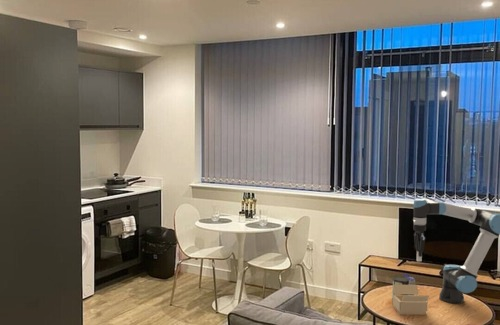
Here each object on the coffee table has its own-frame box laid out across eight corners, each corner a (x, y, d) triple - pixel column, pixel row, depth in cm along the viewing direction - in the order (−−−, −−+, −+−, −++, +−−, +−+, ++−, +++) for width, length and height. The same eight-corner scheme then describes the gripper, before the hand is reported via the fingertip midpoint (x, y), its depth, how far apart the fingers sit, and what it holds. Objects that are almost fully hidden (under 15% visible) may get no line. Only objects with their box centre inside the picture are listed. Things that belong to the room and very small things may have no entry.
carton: (419, 307, 313) (420, 295, 313) (427, 315, 301) (427, 302, 301) (392, 307, 313) (393, 295, 312) (399, 314, 301) (399, 301, 300)
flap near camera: (429, 295, 297) (429, 296, 296) (426, 301, 301) (426, 301, 300) (404, 295, 296) (404, 295, 296) (401, 300, 300) (401, 301, 300)
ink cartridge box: (411, 294, 338) (412, 273, 337) (414, 297, 333) (415, 275, 332) (397, 294, 338) (398, 273, 337) (400, 297, 332) (401, 275, 331)
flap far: (418, 294, 313) (418, 294, 313) (416, 284, 316) (416, 285, 316) (394, 294, 312) (394, 294, 312) (393, 284, 315) (393, 284, 315)
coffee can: (407, 297, 331) (408, 277, 330) (409, 303, 321) (410, 281, 320) (391, 296, 333) (392, 275, 332) (392, 301, 323) (393, 280, 322)
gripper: (409, 222, 316) (409, 258, 318) (418, 226, 303) (417, 264, 305) (421, 221, 317) (420, 258, 319) (430, 225, 304) (429, 263, 306)
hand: (419, 261), depth 312 cm, fingers closed
